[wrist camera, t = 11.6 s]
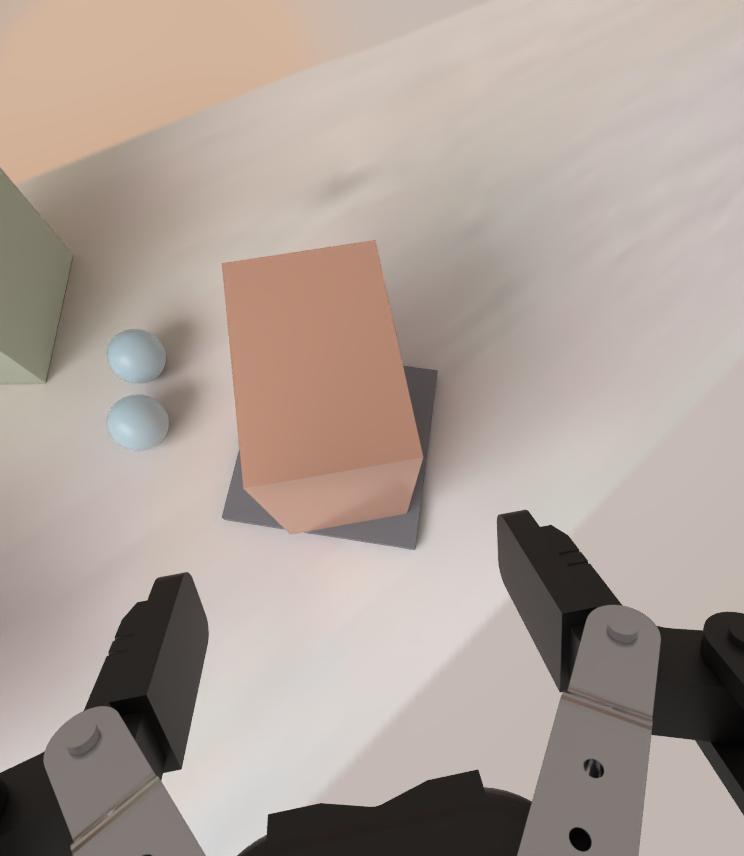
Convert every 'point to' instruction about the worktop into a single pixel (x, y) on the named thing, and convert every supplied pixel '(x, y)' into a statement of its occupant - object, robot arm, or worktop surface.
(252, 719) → the worktop surface
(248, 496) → the felt coaster
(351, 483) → the salmon orange block
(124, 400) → the marble
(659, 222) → the worktop surface
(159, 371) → the marble
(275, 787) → the worktop surface
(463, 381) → the worktop surface
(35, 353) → the sage green block
